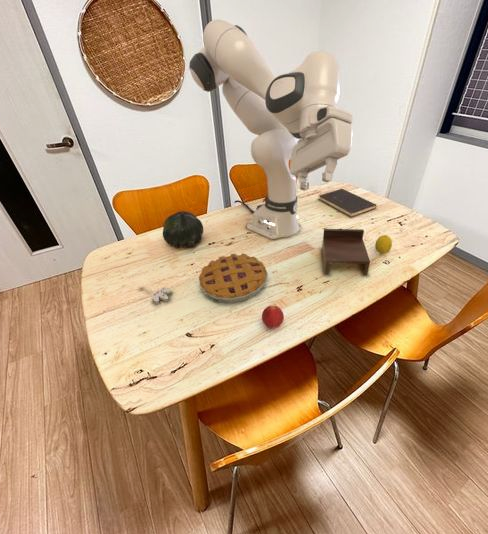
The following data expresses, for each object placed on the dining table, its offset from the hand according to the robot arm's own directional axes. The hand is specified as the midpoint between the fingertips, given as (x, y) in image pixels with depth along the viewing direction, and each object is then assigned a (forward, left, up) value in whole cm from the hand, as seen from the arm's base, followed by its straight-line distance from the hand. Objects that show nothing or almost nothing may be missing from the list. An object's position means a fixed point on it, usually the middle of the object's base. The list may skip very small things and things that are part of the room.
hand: (314, 185), depth 66 cm
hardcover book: (-8, +66, -34) cm, 75 cm away
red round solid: (-3, -17, -34) cm, 39 cm away
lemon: (+16, +31, -34) cm, 49 cm away
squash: (-54, +4, -34) cm, 64 cm away
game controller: (-42, -23, -34) cm, 59 cm away
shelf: (+5, +20, -34) cm, 40 cm away
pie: (-23, -7, -34) cm, 42 cm away
